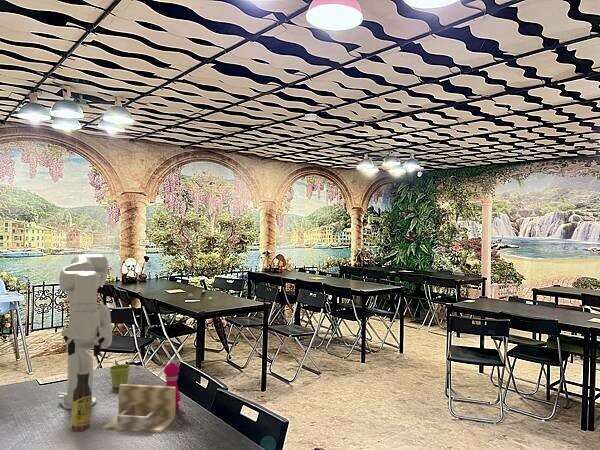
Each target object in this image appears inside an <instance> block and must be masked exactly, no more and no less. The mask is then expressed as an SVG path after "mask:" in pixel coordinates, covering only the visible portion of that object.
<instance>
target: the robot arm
mask: <svg viewBox="0 0 600 450" xmlns="http://www.w3.org/2000/svg"><path fill="white" fill-rule="evenodd" d="M108 271H109V261H108V259H107V257H106V256H105V255H103V254H80V255H79V254H78V255H76V256H74V257H73V259H72V260H71V262H70V265H68V266H67V265H66V266H65V267H62V269H61V270H60V272H59V276H58V277H59V278H58V279H59V280H58V284H59V285H58V286H59V288H60V290H61V291H62V292H65V294H66V296H67V297H68V300H69V321H68V327H67V328H65V329H63V330H61V331H60V333H61V336H62V337H63V340H64V341H65V345H66V353H67V373H66V374H67V377H66V378H67V380H66V382H67V383H66V392H59V394H58V400H63V402H62V408H63V409H66V410H72V400H73V392H74V390H75V388H76V387H77V379H78V378H77V373H79V372H89V380H88V383H89V388H90V391H91V407H92V406H94V405H95V404H96V403H97V398H96V397H95V396H93V385H94V384H93V382H94V380H93V379H94V377H93V376H94V361H93V357H92V356H91V354H90V353H89V352H88V351H89V350H93V356H94V357H98V356H99V355H101V352H102V349H107V348H109V347H110V346H111V345H112V341H113V330H112V318H111V310H110V308H109V306H107V305H105V304H98V302H97V301H98V289H99V288H100V287H101V286H104V285H105V284H106V282H107V277H108V273H109V272H108Z"/></svg>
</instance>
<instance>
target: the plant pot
mask: <svg viewBox="0 0 600 450" xmlns="http://www.w3.org/2000/svg"><path fill="white" fill-rule="evenodd" d="M131 368H132V366H131V364H127V363H126V364H125V363H123V364H115V365H112V366H110V367H109V368H108V369H109V371H110V376H111V384H112V387H113V388H115V389H119V385H120V384H128V380H129V374H130V370H131Z"/></svg>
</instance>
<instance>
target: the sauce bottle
mask: <svg viewBox="0 0 600 450" xmlns="http://www.w3.org/2000/svg"><path fill="white" fill-rule="evenodd" d="M77 378H78V379H77V387H76V388H75V390H74V392H73V400H72V409H71V419H70V425H71V426H70V429H71V431H74V432H81V431H86V430H87V429H89V428H90V424H91V410H92V409H91V408H92V406H91V391H90V388H89V383H88V380H89V372H79V373H77Z"/></svg>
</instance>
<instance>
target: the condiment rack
mask: <svg viewBox="0 0 600 450" xmlns="http://www.w3.org/2000/svg"><path fill="white" fill-rule="evenodd" d="M175 394H176V387H170V386H166V385H149V384H148V385H146V384H144V385H143V384H128V383H127V384H120V385H119V388H118V414H117V415H116V416H115V417H113V418H112V419H111V420H109V421H108V422H107V423H105V425H103V426H102V430H114V431H128V432H129V431H130V432H144V433H145V432H147V433H158V434H159V433H163V432H164V431H165V429H166V428H168V426H170V424H171V423H173V421H174V420H175V419H176V411H175Z"/></svg>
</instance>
